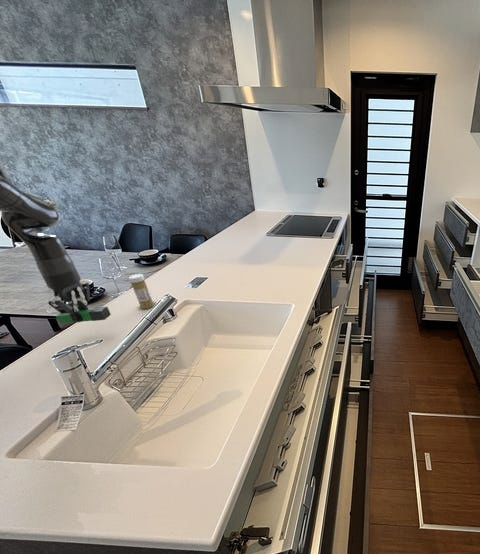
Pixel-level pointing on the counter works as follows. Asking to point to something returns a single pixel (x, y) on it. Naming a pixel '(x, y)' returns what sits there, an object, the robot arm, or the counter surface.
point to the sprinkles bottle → (141, 291)
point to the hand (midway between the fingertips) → (82, 318)
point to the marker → (86, 315)
